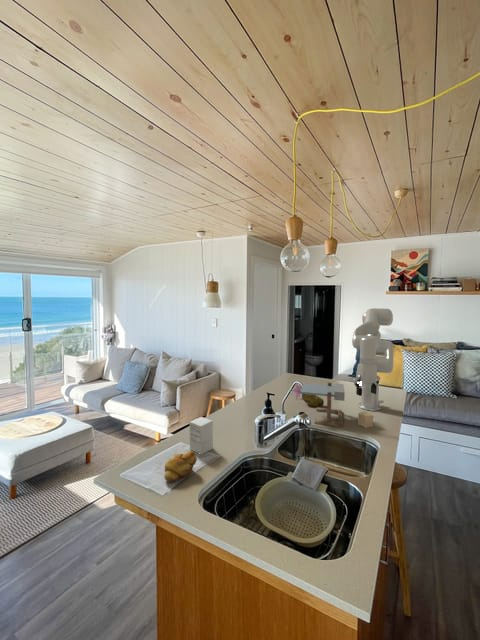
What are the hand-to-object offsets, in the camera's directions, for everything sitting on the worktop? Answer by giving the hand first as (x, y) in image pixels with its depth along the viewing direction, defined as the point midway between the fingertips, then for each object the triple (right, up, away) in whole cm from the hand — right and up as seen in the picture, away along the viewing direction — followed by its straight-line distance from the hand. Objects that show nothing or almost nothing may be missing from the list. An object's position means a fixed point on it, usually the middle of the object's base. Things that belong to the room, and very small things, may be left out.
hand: (366, 394), depth 158 cm
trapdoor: (-19, -3, +12) cm, 23 cm away
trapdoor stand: (-16, -16, +12) cm, 25 cm away
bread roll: (-88, -20, -44) cm, 100 cm away
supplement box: (-82, -18, -24) cm, 87 cm away
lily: (-25, -14, +45) cm, 53 cm away
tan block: (0, -17, +2) cm, 17 cm away
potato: (-20, -15, +31) cm, 40 cm away
